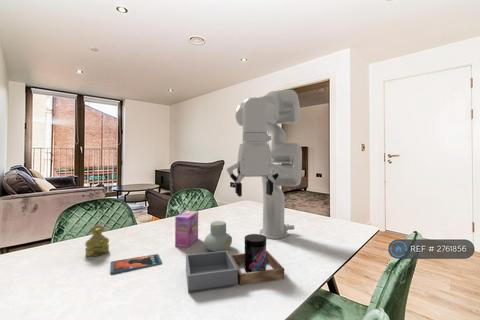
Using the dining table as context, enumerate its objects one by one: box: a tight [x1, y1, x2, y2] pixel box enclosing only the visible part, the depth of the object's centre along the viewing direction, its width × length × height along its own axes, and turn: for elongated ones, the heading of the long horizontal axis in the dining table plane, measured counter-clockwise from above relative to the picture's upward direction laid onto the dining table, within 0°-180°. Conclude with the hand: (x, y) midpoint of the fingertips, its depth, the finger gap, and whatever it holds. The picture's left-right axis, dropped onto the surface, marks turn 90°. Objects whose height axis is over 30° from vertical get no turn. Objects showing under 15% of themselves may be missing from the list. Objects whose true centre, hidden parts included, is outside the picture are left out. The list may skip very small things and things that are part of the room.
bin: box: [185, 250, 239, 294], centre depth 69 cm, size 13×13×4 cm
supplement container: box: [243, 233, 267, 273], centre depth 73 cm, size 7×7×10 cm
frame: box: [229, 250, 285, 286], centre depth 73 cm, size 13×13×3 cm
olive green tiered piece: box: [84, 224, 110, 258], centre depth 86 cm, size 7×7×10 cm
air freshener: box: [203, 220, 233, 252], centre depth 89 cm, size 11×8×10 cm
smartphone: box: [109, 253, 163, 275], centre depth 77 cm, size 8×1×15 cm
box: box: [174, 210, 199, 249], centre depth 96 cm, size 10×6×12 cm, turn 168°
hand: (254, 195), depth 73 cm, fingers open, 9 cm apart
